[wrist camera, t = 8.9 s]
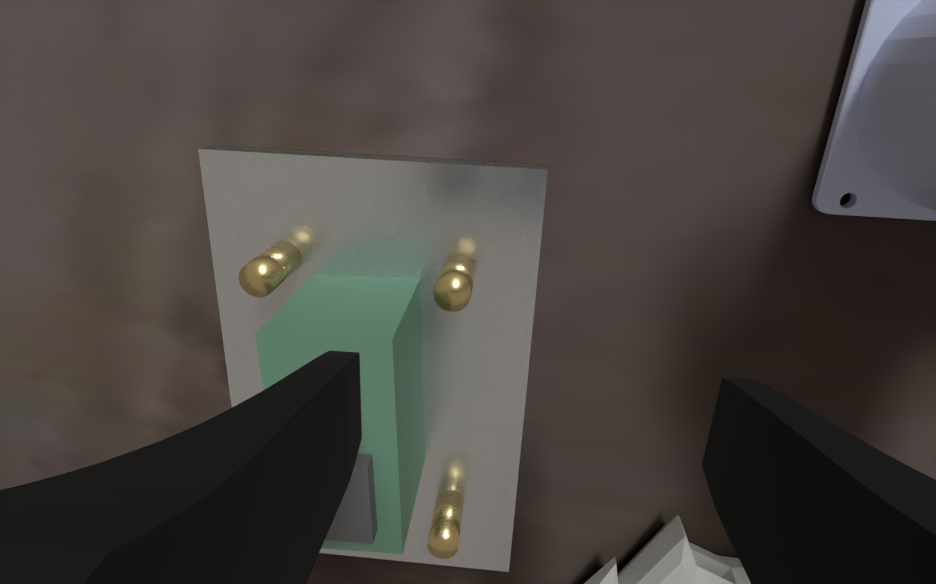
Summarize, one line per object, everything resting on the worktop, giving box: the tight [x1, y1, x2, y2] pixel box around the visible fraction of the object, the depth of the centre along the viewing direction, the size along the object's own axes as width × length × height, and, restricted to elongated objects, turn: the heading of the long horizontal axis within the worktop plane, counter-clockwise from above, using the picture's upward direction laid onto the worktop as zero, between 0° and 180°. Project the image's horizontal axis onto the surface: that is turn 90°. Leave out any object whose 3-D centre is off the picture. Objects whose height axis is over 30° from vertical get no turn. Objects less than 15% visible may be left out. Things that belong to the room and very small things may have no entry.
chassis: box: [198, 145, 548, 572], centre depth 22 cm, size 12×18×4 cm, turn 177°
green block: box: [255, 275, 425, 554], centre depth 20 cm, size 4×8×6 cm, turn 0°
